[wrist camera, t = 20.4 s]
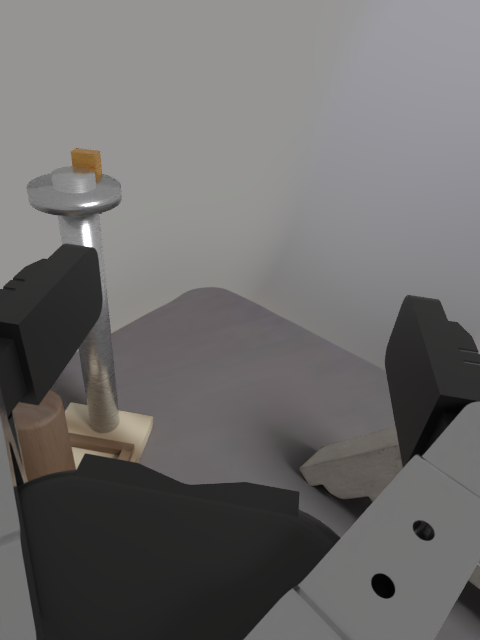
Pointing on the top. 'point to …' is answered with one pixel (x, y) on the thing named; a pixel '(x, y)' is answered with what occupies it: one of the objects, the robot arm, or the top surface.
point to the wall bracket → (360, 469)
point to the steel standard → (84, 229)
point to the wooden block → (44, 437)
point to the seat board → (107, 435)
